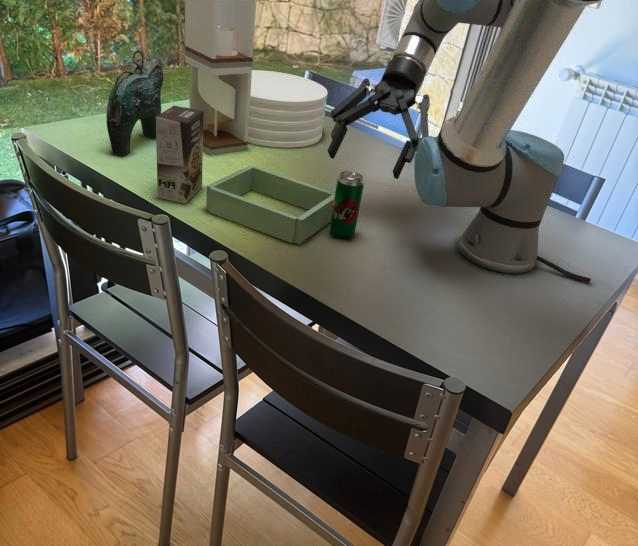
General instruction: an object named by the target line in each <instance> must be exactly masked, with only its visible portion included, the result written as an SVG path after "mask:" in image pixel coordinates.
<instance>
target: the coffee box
mask: <svg viewBox="0 0 638 546" xmlns="http://www.w3.org/2000/svg"><path fill="white" fill-rule="evenodd" d="M203 112H204V111H202V110H197V109H192V108H189V107H185V106H178V105H172V106H171V107H169V108H168V109H166V110H164V111H162V112H161V114H159V115H158V116H156V139H155V141H156V142H155V145H156V189H157V190H156V191H157V192H156V193H157V198H158V199H163V200H166V201H170V202H171V201H172V202H176V203H179V204H185V205H187V204H188V203H189V202H190V200H192V199H193V198H194V197H195V196H196V195H197V194H198V193H199V192H200V191H201V190H203V163H204V161H203V160H204V159H203V158H204V157H203V152H204V151H203Z"/></svg>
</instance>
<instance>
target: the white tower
mask: <svg viewBox="0 0 638 546" xmlns="http://www.w3.org/2000/svg"><path fill="white" fill-rule="evenodd" d="M256 10H257V0H184V62H185V63H187V64H189V84H188V85H189V87H188V88H189V90H188V91H189V93H188V94H189V97H188V98H189V99H188V101H189V102H188V103H189V107H188V108H192V109H197V110H202V111H204V112H203V152H204V153H206V154H208V155H209V156H212V155H219V154H220V155H221V154H227V153H235V152H241V151H247V150H248V126H249V110H250V94H251V78H252V70H253V61H254V60H253V59H254V45H255V29H256V27H255V26H256V12H257V11H256Z"/></svg>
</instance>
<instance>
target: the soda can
mask: <svg viewBox="0 0 638 546" xmlns="http://www.w3.org/2000/svg"><path fill="white" fill-rule="evenodd" d="M336 179H337V180H336V185H335V192H334V193H335V198H334V204H333V211H332V217H331V222H329V223H330V224H329V232H330V234H331V235H332V236H333V237H334V238H337V239H344V240H345V239H351V238H352V237H354V236H355V234H356V231H357V230H356V229H357V224H358V219H359V214H360V208H361V202H362V197H363V193H364V188H365V187H364V186H365V182H364V176H363V174H361V173H358V172H356V171H352V170H349V171H348V170H345V171H341V172H340V174H339V176H338V177H337V178H336Z"/></svg>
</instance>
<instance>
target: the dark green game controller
mask: <svg viewBox="0 0 638 546" xmlns="http://www.w3.org/2000/svg"><path fill="white" fill-rule="evenodd" d="M138 53H139V54H140V57H141V61H134V59H135V57H136V55H137V54H138ZM132 59H133V63H134V64H135V66H134V69H133V71H130V70H125V71H122V72H121V73H119V74H118V76H116V77H115V80H114V84H113V86H112V88H111V89H110V93H109V96H108V101H107V108H106V114H105V115H106V116H105V117H106V129H107V134H108V139H109V142H110V149H111V153H112V155H114V156H119V157H125V156H127V155H129V154H130V153H131V141H132V134H133V131H134V128H135V125H136V124H137V122H138V121H140V125H141V132H142V135H143V137H145V138H148V139H153V140H156V116H158V115H159V114H161V113H162V99H161V98H162V97H161V96H162V95H161V94H162V92H161V91H162V87H163V84H164V72H163V67H162V66H161V65H160V64H159V63H156V62H154V61H153V60H152V59H151V57H150V55H149V54H146V59H144V54H143V52H142V51H141V50H138V49H136V50H134V51H132Z"/></svg>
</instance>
